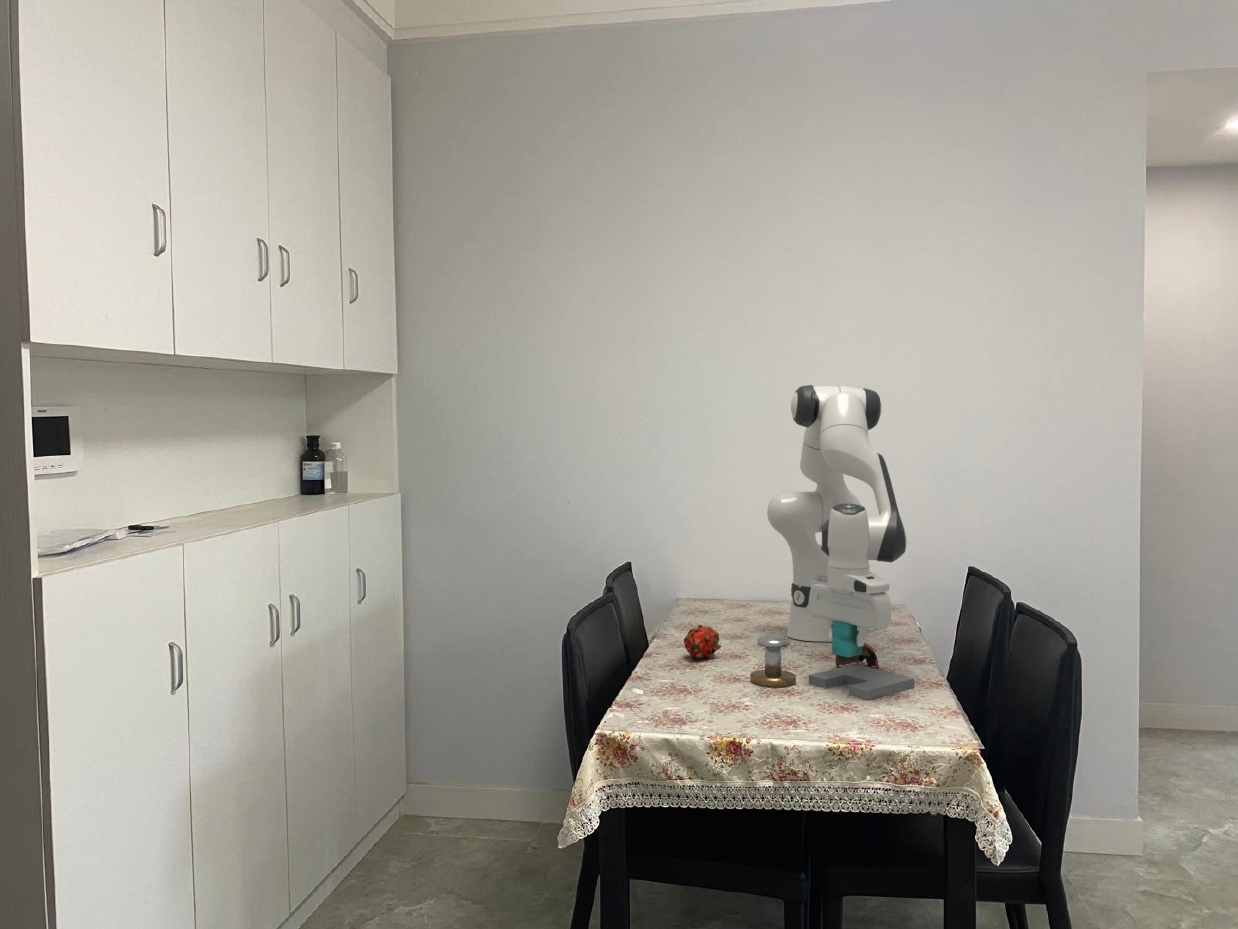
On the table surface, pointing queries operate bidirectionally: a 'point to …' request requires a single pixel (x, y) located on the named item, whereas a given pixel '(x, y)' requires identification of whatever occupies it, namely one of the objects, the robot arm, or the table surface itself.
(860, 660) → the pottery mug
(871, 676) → the notched board
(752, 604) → the table surface
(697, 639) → the dragon fruit
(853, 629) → the block
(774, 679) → the bobbin post
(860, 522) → the robot arm
